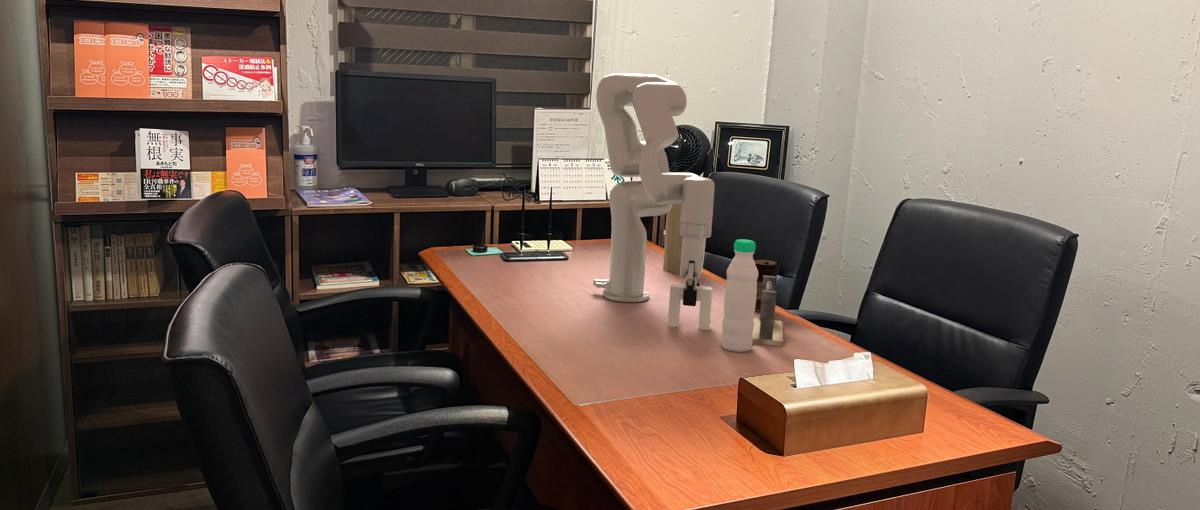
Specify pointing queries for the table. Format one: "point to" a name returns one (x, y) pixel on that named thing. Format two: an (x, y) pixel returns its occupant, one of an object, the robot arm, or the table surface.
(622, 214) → the robot arm
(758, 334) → the hook stand
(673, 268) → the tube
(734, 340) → the water bottle
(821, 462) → the table surface
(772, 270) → the coffee cup
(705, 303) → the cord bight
